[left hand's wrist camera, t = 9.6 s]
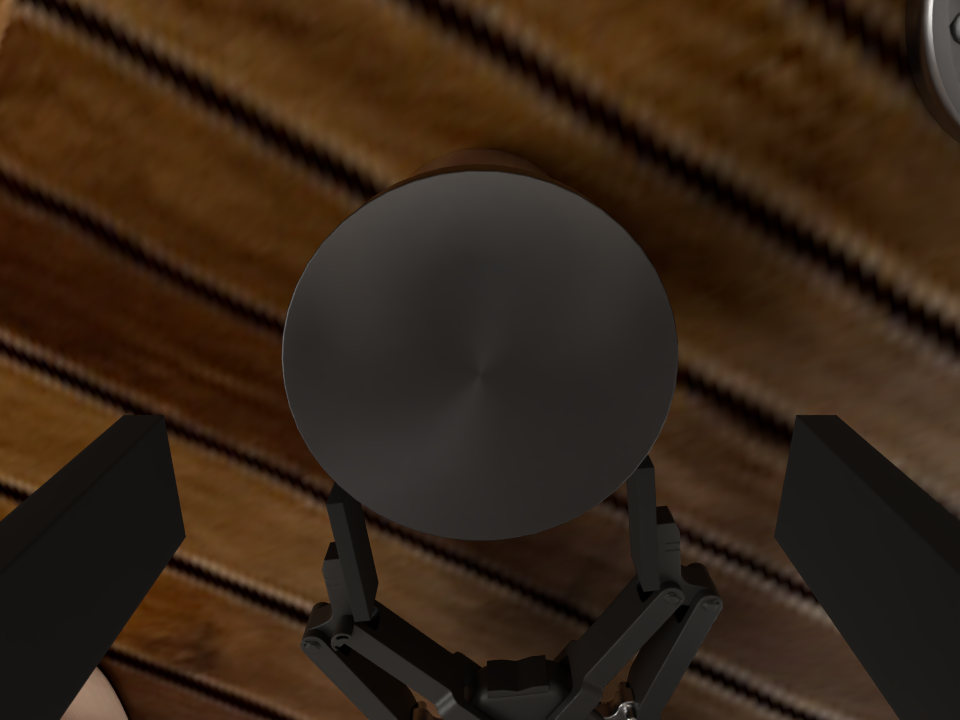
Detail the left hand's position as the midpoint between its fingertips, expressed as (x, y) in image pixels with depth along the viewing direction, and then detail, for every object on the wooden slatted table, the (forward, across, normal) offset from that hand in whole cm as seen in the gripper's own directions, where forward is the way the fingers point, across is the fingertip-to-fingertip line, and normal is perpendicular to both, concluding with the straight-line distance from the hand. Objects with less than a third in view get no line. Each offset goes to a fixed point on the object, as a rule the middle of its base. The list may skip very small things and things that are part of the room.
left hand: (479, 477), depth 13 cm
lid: (+6, 0, 0) cm, 6 cm away
